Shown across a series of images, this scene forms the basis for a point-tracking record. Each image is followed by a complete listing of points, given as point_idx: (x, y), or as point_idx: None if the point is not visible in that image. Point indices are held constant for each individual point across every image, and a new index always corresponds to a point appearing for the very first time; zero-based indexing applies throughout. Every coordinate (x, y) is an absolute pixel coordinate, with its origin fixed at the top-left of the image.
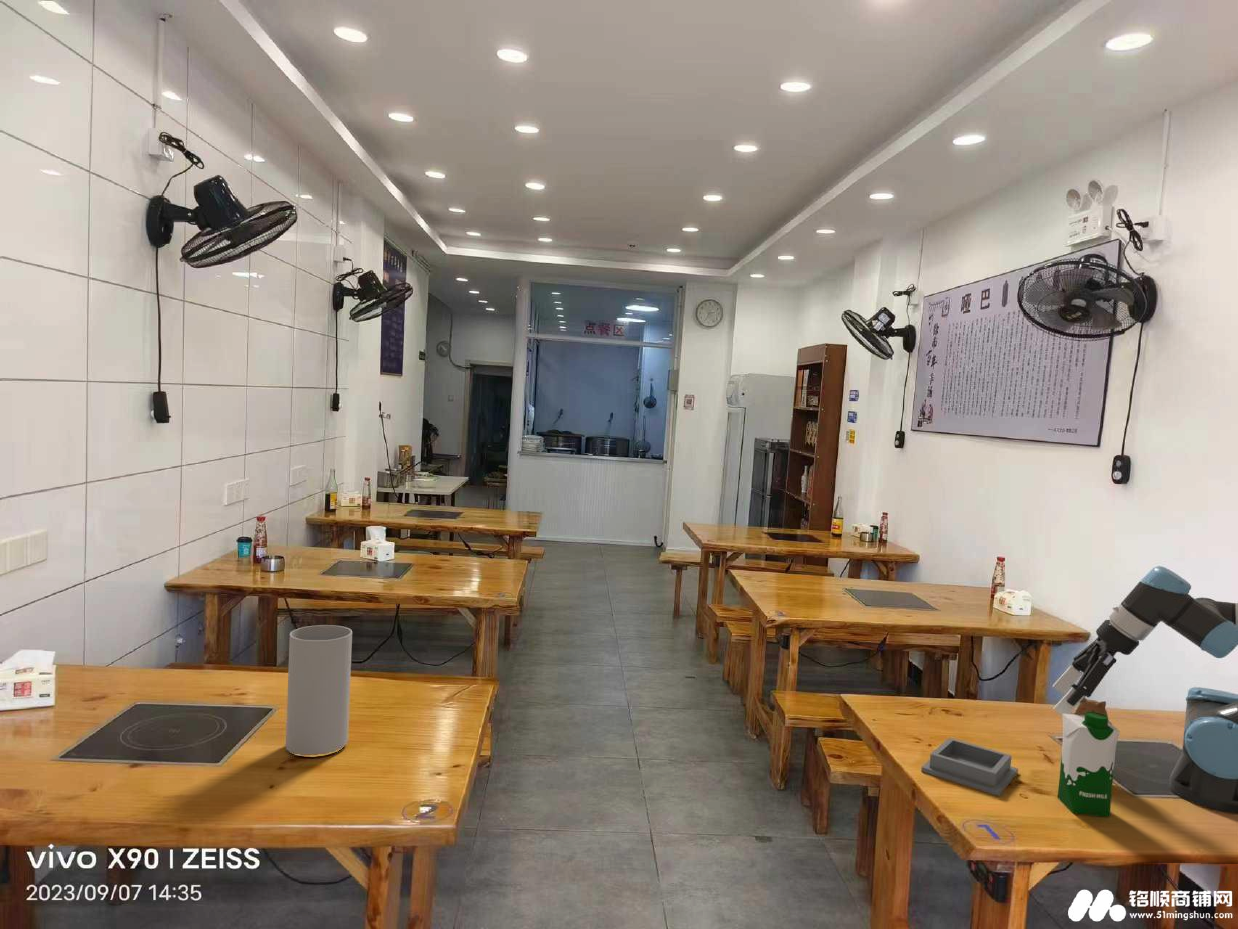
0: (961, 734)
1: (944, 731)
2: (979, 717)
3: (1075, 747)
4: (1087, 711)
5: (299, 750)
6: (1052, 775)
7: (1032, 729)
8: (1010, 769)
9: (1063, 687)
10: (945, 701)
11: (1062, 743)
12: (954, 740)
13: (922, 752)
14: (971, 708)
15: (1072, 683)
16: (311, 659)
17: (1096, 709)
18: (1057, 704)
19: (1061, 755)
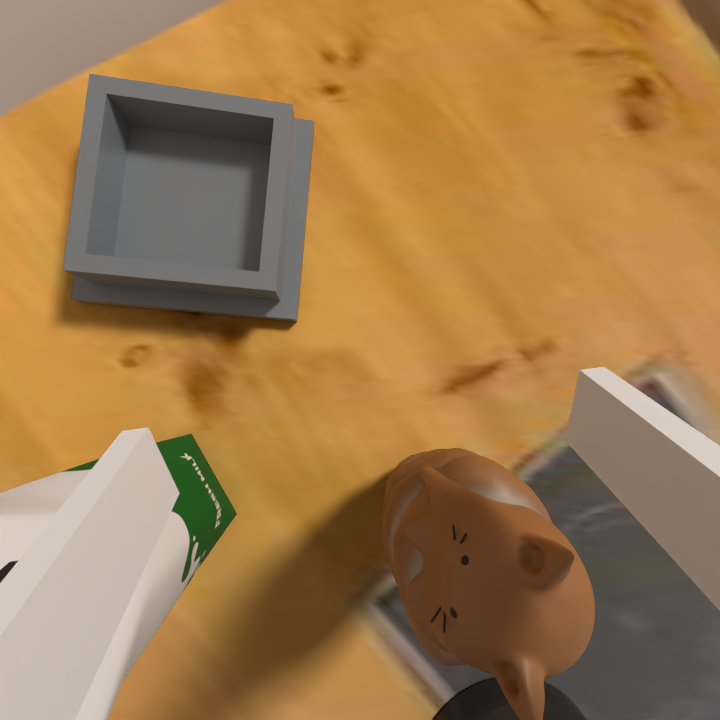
0: (481, 152)
1: (469, 109)
2: (657, 176)
3: None
4: (451, 577)
5: None
6: (350, 402)
7: (672, 313)
8: (271, 302)
9: (599, 444)
10: (716, 77)
11: (26, 484)
12: (275, 121)
13: (257, 81)
14: (714, 147)
15: (648, 522)
16: None
17: (470, 639)
18: (105, 462)
19: (69, 469)
